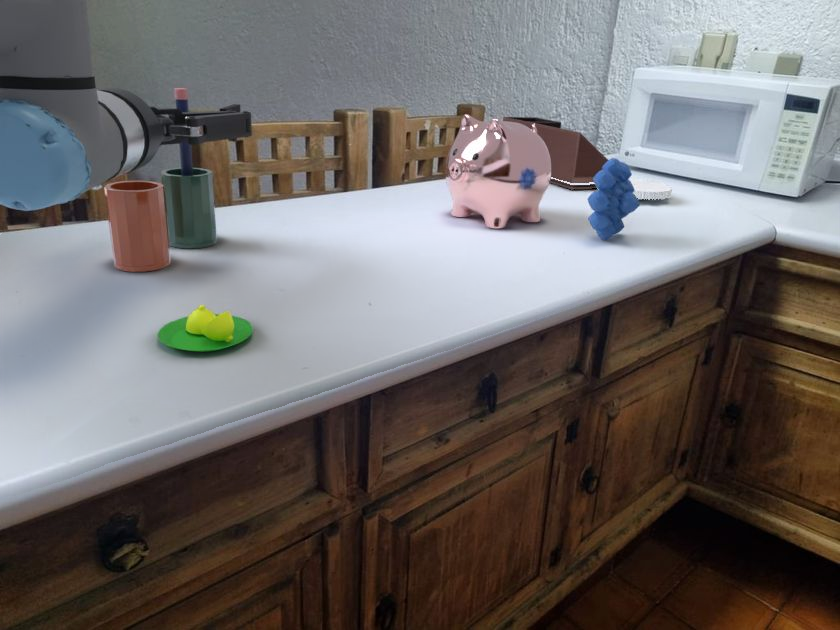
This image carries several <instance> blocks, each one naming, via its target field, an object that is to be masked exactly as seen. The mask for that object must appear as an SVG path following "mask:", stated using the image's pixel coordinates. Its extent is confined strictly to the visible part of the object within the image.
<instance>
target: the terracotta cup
mask: <svg viewBox="0 0 840 630" xmlns="http://www.w3.org/2000/svg"><path fill="white" fill-rule="evenodd" d="M103 189H104V197H105V204H106V213H107V220H108V229H109V237H110V245H111V253H112V260H113V265H114V268H116V269H117V270H120V271H123V272H129V273H131V272H132V273H145V272H152V271H158V270H161V269H165V268H167V267H168V266H170V265H171V262H172V261H171V256H172V255H171V246H170V245H169V234H168V223H167V212H166V201H165V190H164V185H163V184H162V182H157V181H152V180H151V181H150V180H123V181H122V180H121V181H115V182H114V181H113V182H110V183H107V184H105V185H104V186H103Z"/></svg>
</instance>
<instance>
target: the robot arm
mask: <svg viewBox="0 0 840 630" xmlns="http://www.w3.org/2000/svg"><path fill="white" fill-rule="evenodd" d="M89 29H90V25H89V17H88V4H87V0H0V206H4V207H6V208H9V209H13V210H20V211H24V212H29V211H36V210H42V209H46V208H49V207H52V206H56V205H58V204H59V205H62V204H66V203H68V202H69V201H70V202H73V201H75V200H76V199H77V198H79V197H81V196H82V194H84V193H86V192H88V191H90V190H94V191H100V190H102V188H103V185H104V184H106V183H108V182H111V181H112V180H115V179H117V178H119V177H121V176H124V175H127V174H129V173H132V172H134V171H137V170H138V169H141V168H144V166H146V165H148V164H149V163H150V162H151V161H152V160H153V158H154V157H155V156H156V154H157V152H158V150H159V149H160V147H161V146H165V145H166V146H167V145H179V144H180V143H182V142H183V141H184V139H185V138H187V144H189V145H191V147H192V146H193V147H194V146H195V147H196V146H198V145H202V144H205V143H210V142H217V141H225V140H228V141H229V142H235V143H236V142H238V139H240V138H250V137H252V136H253V129H252V128H253V127H252V112H250V111H248V110H241V104H239V103H233V104H230V105H226V106H224V107H221V108H219V110H218V111H217V110H215V111H213V110H212V111H189V112H183V113H182V112H181V111H180V110H179V109H176V108H175V107H174V108H173V107H155V106H149V104H148V103H147V102H146V101H144V100H143V98H141V97H140V96H138V95H137V94H135V93H133V92H131V91H129V90H125V89H122V88H116V87H109V88H100V89H97V87H96V77H95V75H94V69H93V62H92V61H93V60H92V50H91V39H90V38H91V37H90V30H89ZM166 115H168V116H166Z"/></svg>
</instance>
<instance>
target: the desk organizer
mask: <svg viewBox="0 0 840 630" xmlns="http://www.w3.org/2000/svg"><path fill="white" fill-rule="evenodd" d="M502 121H509V122H516V123H520V124H523V125H525V126H527V127H528V128H530V129H531V130H533V129H532V126H531V125H534V124H535V126H536V129H537V134H538V135H539V136H540V137H541V138H542V140H543V141H544V143H545V144H546V146H547V148H548V151H549V154H550V158H551V163H552V173H551V177H553V178H556V179H559V180H563V181H567V182H570V183H589V182H594V181H593V178H594V176H595V175H596V174H597V173H598V172H599V171H601V170H603V169H602V167H603V165H604V164H605V163H606V162H607V161H608V160H609V158H607V157H606V156H605V155H604V154H603V153H602V152H601V151H600V150H599V149H598V148H596V147H595V146H594V144H592V142H590V141H589V139H587V138H586V137H585V136H584V135H583V134H582V133H581V132H580V131H575V130H570V129H566V128H561V127H562V121H558V120H551V119H547V118H541V117H537V116H535V117H532V116H530V117H529V116H503V117H502ZM549 184H552V185H556V186H558V187H562V188H565V189H568V190H570V189H571V190H570V191H574V189H575V190H593V189H592V188H597V187H596V185H595V184H590V185H570V184H567V183H564V182H561V181H558V180H555V179H550V183H549Z"/></svg>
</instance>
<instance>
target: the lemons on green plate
mask: <svg viewBox="0 0 840 630" xmlns="http://www.w3.org/2000/svg"><path fill="white" fill-rule="evenodd" d="M253 327H254V326H253V325H252V324H251V322H249V321H248V320H246V319H244V318H242V317H238V316H235V315H232V314H231V313H230V311H229V310H226V311H223V312H221V313H214V312H213V310H210V309H208V308H207V307H206V306H205V305H204V304H200V305H198V306H197V308H195V310H193V311H192V312H191V313H190V314H189V315H188V316H185V317H181V318H178V319H174V320H172V321H170V322H168V323H166V324H165V325H163V326H162V327H161V328H159V330H158V332H157V338H158V340H159V341H160V342H161V344H163V345H164V346H167V347H170V348H173V349H178V350H182V351H187V352H193V353H195V352H197V353H205V352H216V351H220V350H225V349H227V348H230V347H232V346H235V345H237V344H238V345H239V344H240V343H241V342H245V340H247V339H248V338H250V336H251V335H252V334H253V332H254V328H253Z"/></svg>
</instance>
